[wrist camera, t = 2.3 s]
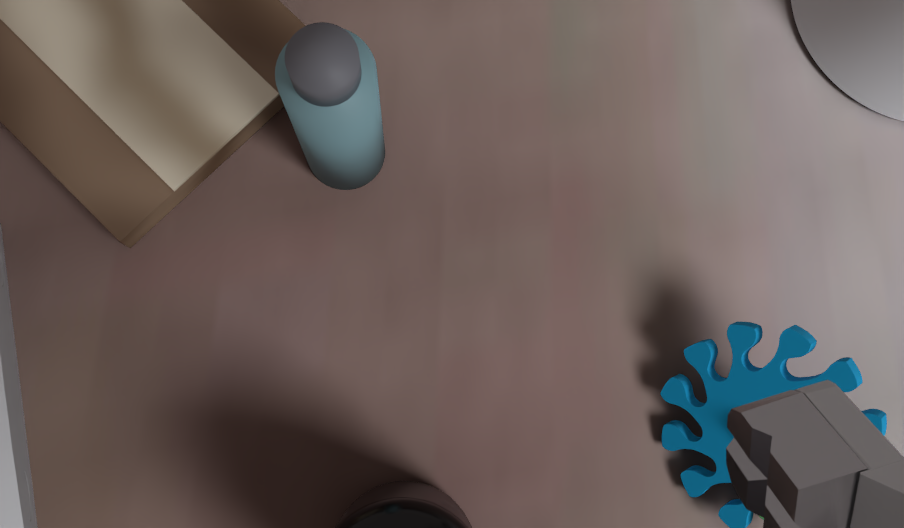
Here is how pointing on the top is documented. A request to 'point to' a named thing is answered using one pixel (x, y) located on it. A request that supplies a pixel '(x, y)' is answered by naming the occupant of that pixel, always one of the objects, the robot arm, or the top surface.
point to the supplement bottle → (404, 508)
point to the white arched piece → (12, 424)
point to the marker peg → (333, 103)
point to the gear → (741, 401)
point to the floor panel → (138, 94)
